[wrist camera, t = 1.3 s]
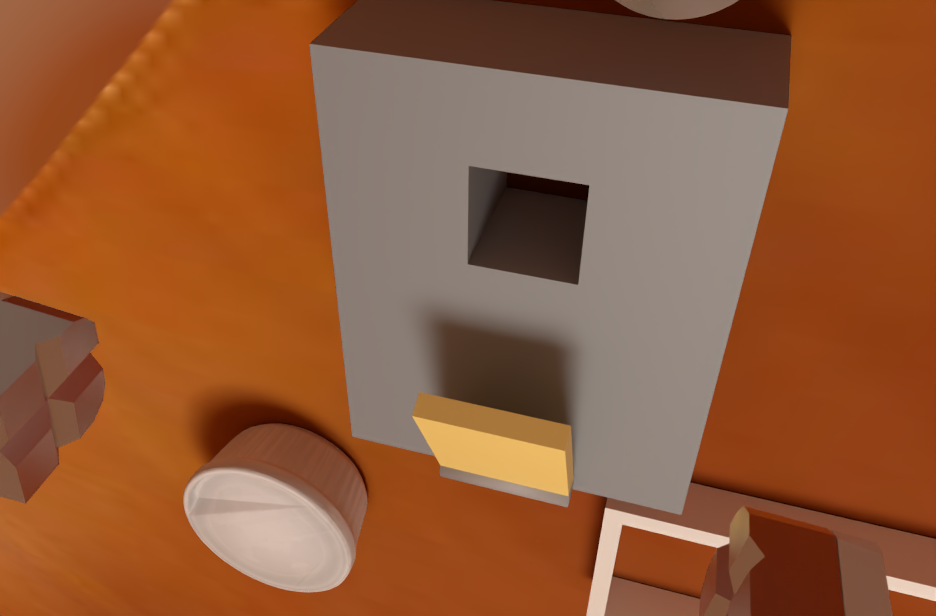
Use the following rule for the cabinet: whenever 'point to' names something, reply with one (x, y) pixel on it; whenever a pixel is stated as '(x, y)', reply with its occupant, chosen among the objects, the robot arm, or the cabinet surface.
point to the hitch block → (545, 220)
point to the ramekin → (280, 507)
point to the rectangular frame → (708, 522)
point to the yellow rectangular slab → (498, 448)
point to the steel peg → (676, 7)
